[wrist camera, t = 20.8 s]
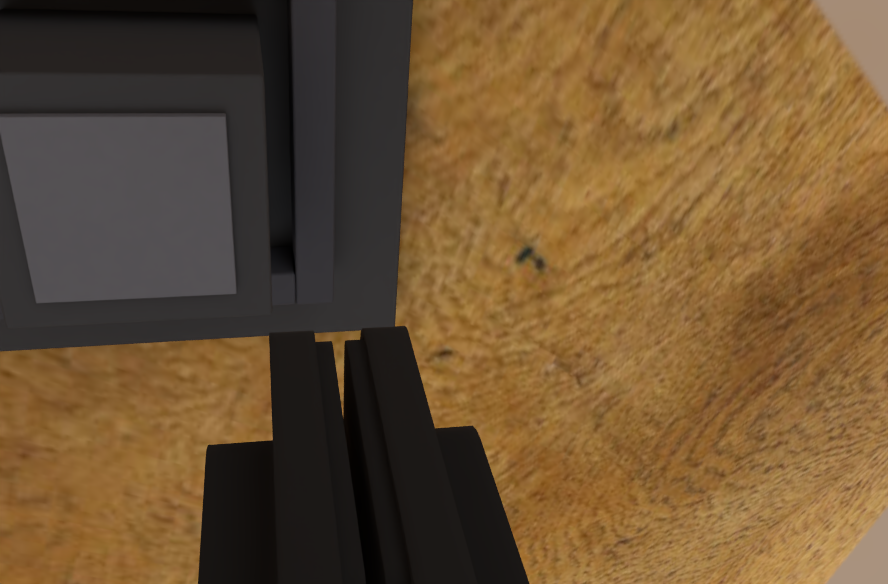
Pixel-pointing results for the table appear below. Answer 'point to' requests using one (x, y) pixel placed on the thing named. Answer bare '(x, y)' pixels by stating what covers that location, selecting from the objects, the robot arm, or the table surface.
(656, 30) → the table surface
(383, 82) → the base pad
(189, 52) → the small cube
